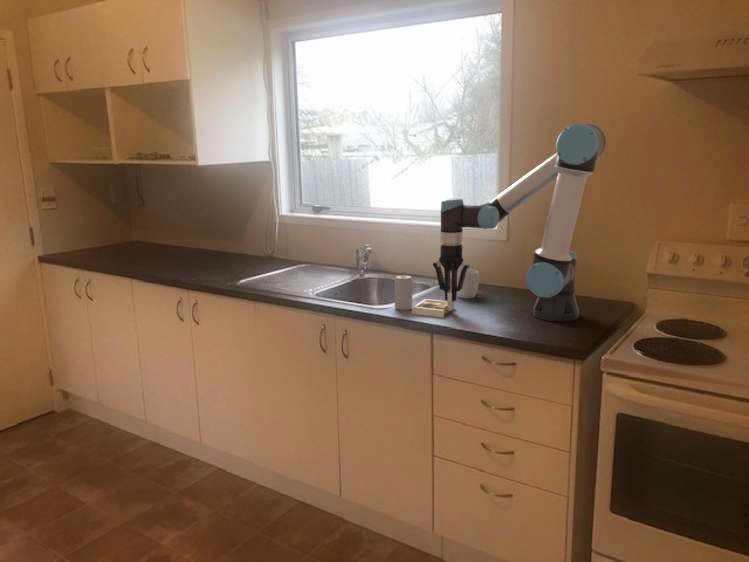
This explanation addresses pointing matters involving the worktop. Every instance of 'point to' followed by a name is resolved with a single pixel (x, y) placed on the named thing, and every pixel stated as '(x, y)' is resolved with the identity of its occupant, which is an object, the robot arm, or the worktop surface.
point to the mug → (468, 284)
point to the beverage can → (403, 292)
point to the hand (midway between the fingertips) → (450, 309)
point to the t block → (436, 306)
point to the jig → (428, 309)
